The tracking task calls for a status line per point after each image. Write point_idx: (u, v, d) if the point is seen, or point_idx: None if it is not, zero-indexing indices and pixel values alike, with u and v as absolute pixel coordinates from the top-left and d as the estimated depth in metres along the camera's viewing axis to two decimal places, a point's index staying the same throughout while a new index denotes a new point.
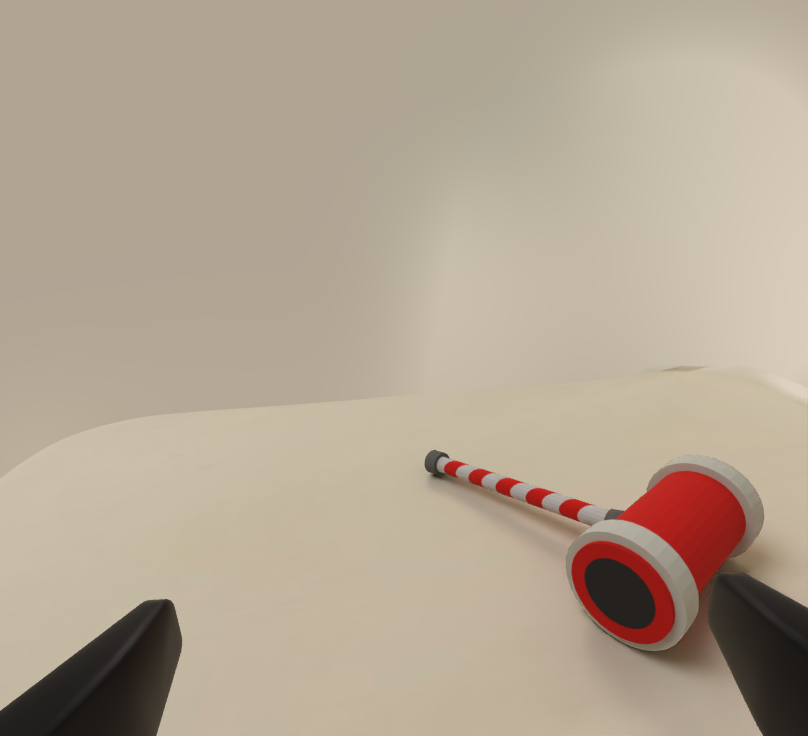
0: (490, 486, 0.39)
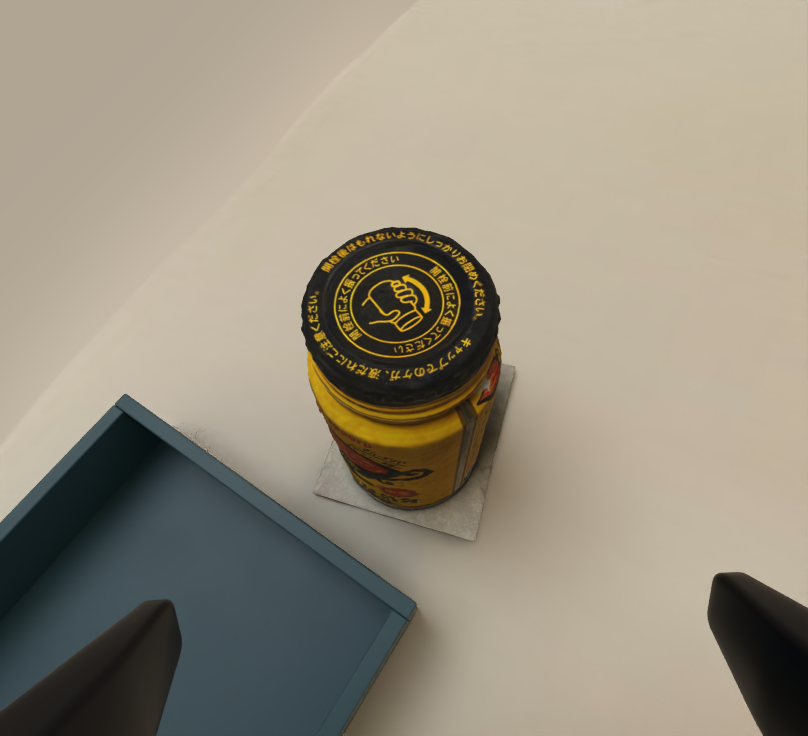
0: None
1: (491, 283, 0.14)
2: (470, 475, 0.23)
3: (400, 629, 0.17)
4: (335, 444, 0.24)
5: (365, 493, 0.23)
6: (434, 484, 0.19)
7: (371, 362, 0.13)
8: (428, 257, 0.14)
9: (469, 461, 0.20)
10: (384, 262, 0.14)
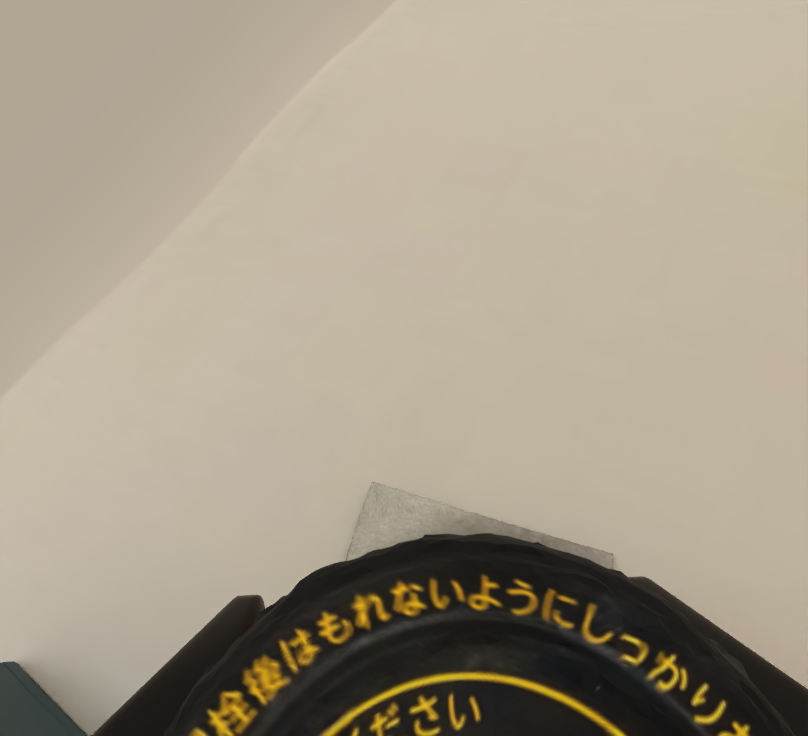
0: None
1: None
2: None
3: None
4: None
5: None
6: None
7: None
8: (596, 712, 0.04)
9: None
10: (424, 727, 0.04)
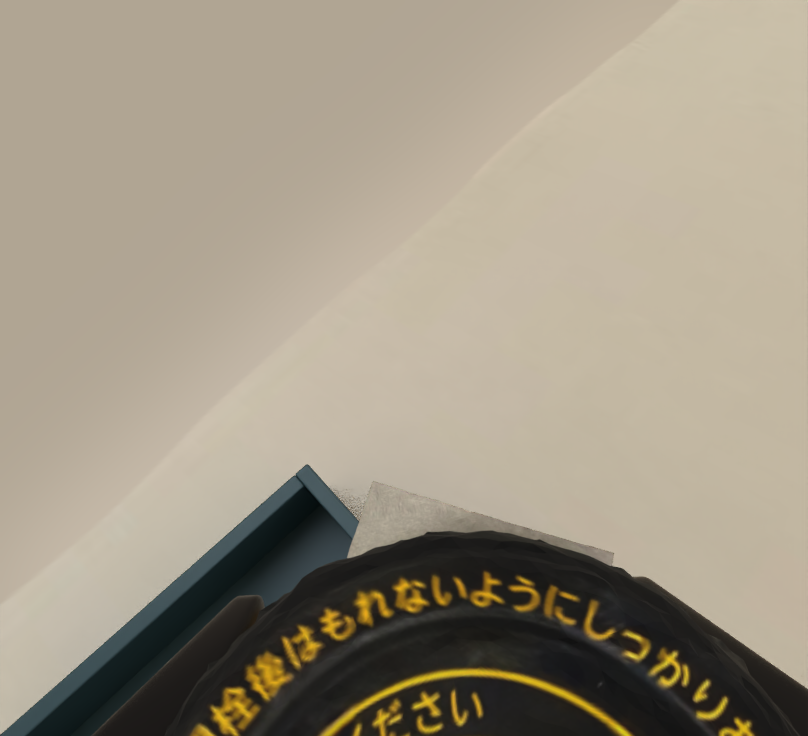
0: None
1: None
2: None
3: None
4: None
5: None
6: None
7: None
8: (599, 708, 0.04)
9: None
10: (427, 723, 0.04)
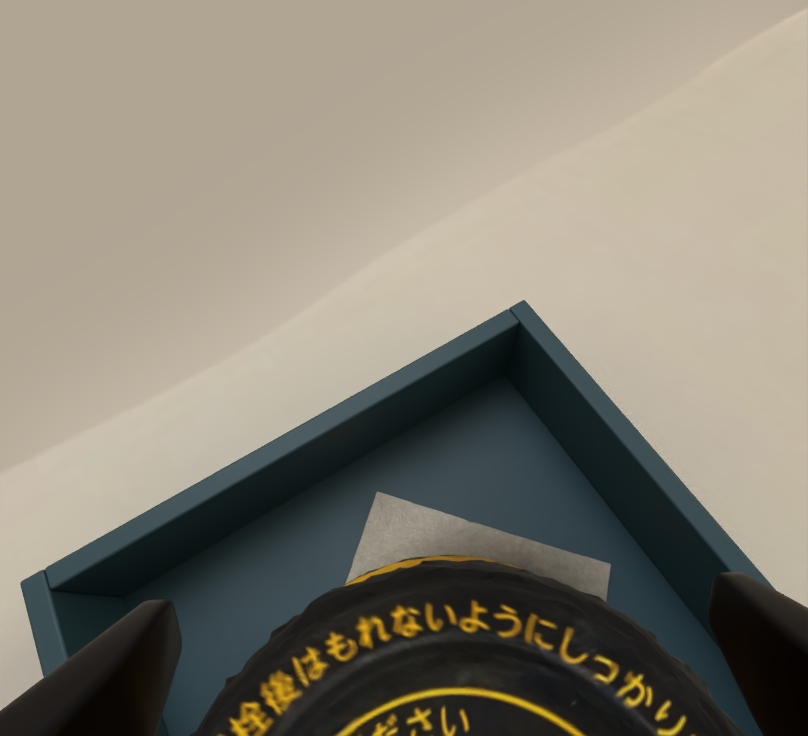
0: None
1: None
2: None
3: None
4: None
5: None
6: None
7: None
8: (571, 725, 0.04)
9: None
10: (420, 734, 0.04)
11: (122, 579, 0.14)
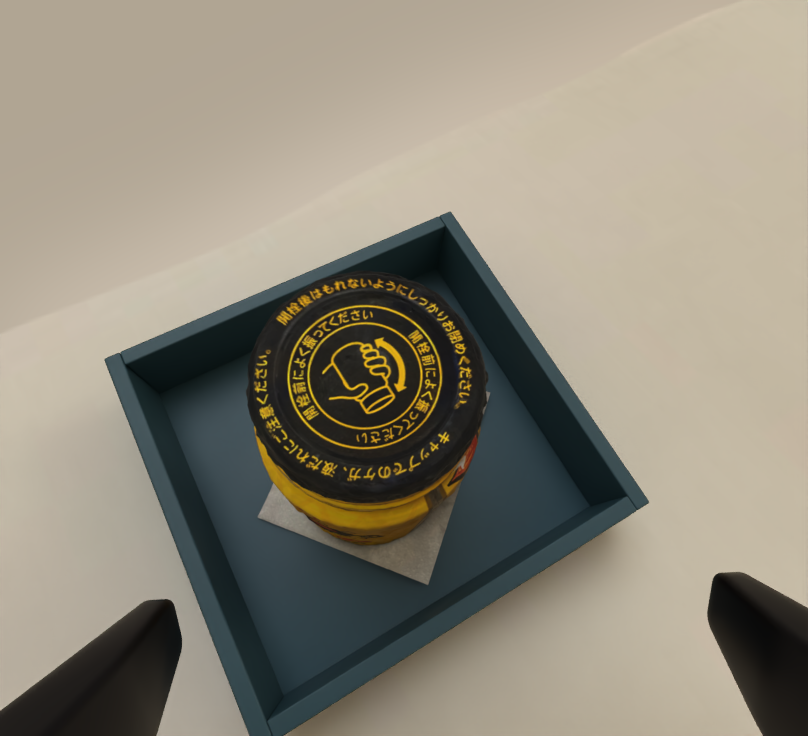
0: None
1: (480, 360, 0.11)
2: None
3: (629, 514, 0.19)
4: None
5: None
6: (390, 537, 0.17)
7: (327, 454, 0.10)
8: (408, 317, 0.12)
9: None
10: (355, 317, 0.12)
11: (164, 374, 0.21)
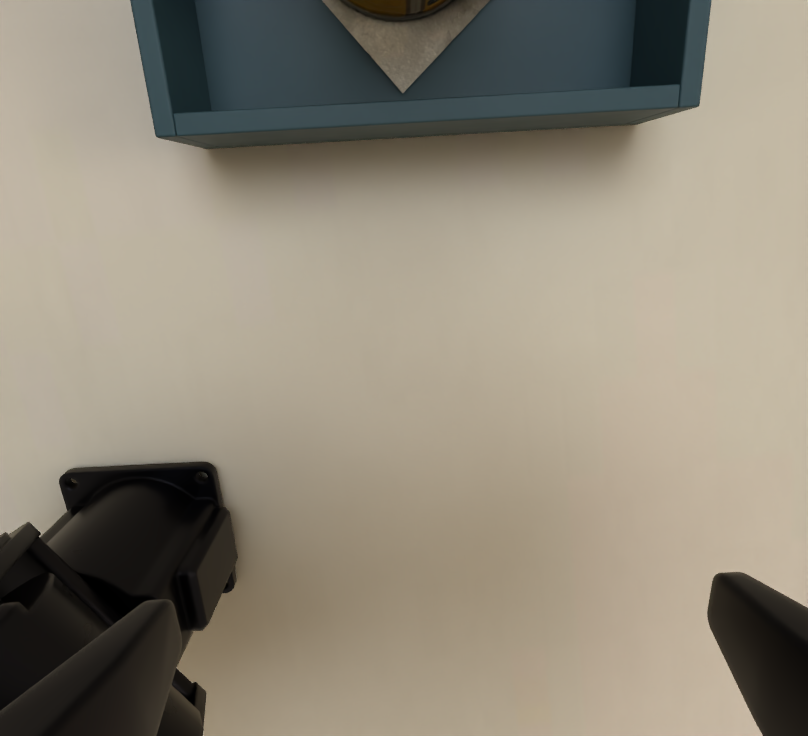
0: None
1: None
2: (446, 7, 0.17)
3: (666, 106, 0.14)
4: None
5: None
6: None
7: None
8: None
9: None
10: None
11: None
